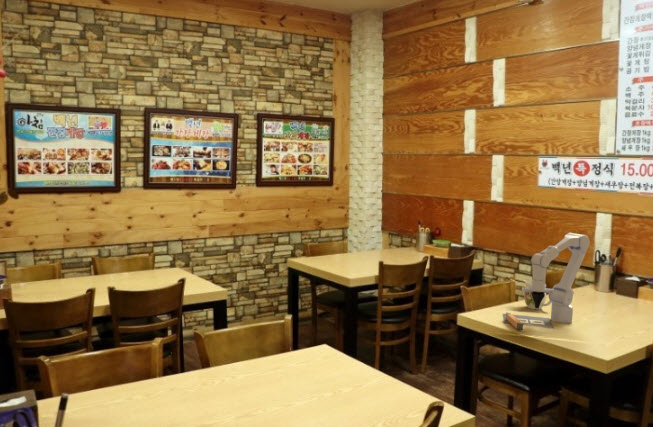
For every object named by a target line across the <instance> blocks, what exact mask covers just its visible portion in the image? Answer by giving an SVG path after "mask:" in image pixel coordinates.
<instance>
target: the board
mask: <svg viewBox="0 0 653 427" xmlns="http://www.w3.org/2000/svg"><path fill="white" fill-rule="evenodd" d="M507 314H512V313H511V312H508V311H507V312H505V313H502V319H503V324H504V325H506V324H507V325H512V324H511V323H510V322H509V321H508V320H507ZM513 315H514V316H515V317H516V318H518V319H527V320H528V324H523V327H524V326H525V327H536V328H546V329H555V327H554V325H553V323H552V320H551V318H550V317H542V316H541V317H540V316H531V315H529V316H528V315H521V314H520V315H519V314H513ZM530 320H538V321H543V322H544V326H542V325H532V324H530Z"/></svg>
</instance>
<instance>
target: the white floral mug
mask: <svg viewBox="0 0 653 427" xmlns="http://www.w3.org/2000/svg"><path fill="white" fill-rule="evenodd" d="M522 281H523V282H524V283H525V286H526V287H532V279H530V280H529V279H522ZM545 288H547V284H546V283H545ZM544 294H545V297H544V298H543V299H542V301H541V303H540V306H539V308H535V305H534V300H533V297H532V294H531V292H523V298H524V303H525V305H526V307H527V309H530V308H531V309H530V310H535V309H537V310H538V309H539V310H542V308H543V307H548V306H550V305H552V303H551V300H550V299H549V301H547V302H546V300H547V293H544Z"/></svg>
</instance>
